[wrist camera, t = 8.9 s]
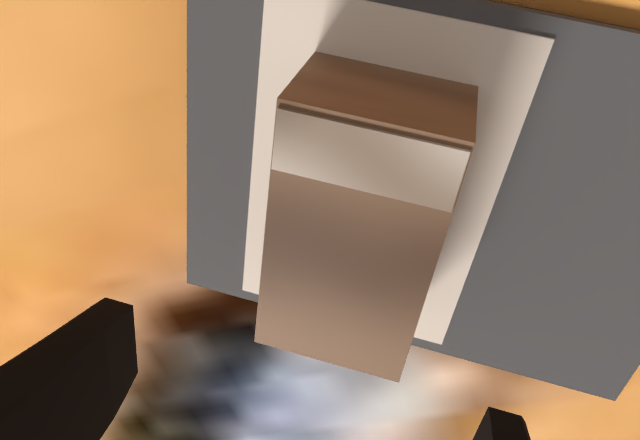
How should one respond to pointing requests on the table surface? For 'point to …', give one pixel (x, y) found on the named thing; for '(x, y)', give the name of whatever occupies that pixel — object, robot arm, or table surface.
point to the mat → (480, 179)
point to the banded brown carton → (359, 208)
